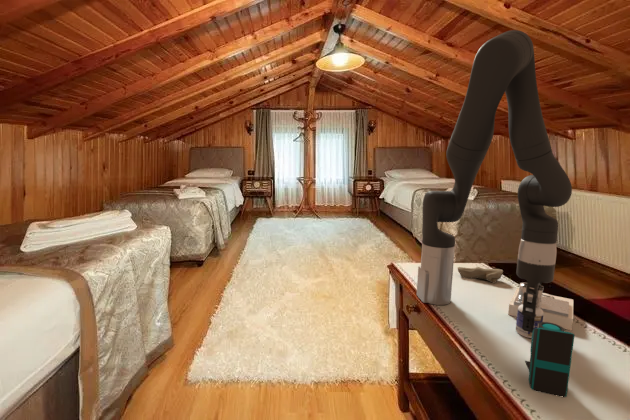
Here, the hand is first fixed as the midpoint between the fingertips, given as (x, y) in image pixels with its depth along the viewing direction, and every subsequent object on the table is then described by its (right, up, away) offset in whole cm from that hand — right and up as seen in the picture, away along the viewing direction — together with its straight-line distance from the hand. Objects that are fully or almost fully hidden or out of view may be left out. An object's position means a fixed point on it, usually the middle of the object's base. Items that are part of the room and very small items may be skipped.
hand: (528, 325), depth 82 cm
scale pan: (+10, +2, +10) cm, 15 cm away
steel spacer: (+7, +3, +12) cm, 15 cm away
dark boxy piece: (-8, -4, -17) cm, 19 cm away
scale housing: (+11, 0, +13) cm, 17 cm away
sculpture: (+7, +3, +40) cm, 41 cm away
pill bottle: (0, -2, 0) cm, 2 cm away
